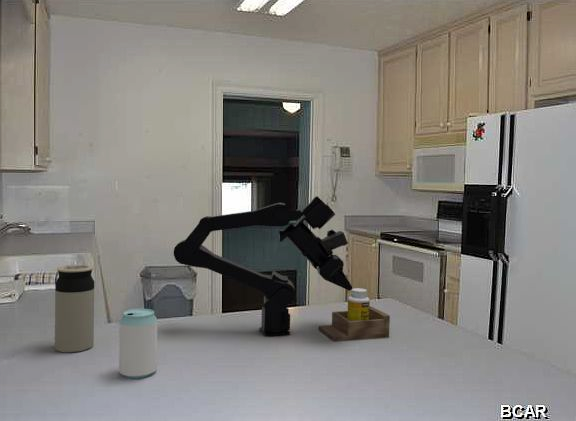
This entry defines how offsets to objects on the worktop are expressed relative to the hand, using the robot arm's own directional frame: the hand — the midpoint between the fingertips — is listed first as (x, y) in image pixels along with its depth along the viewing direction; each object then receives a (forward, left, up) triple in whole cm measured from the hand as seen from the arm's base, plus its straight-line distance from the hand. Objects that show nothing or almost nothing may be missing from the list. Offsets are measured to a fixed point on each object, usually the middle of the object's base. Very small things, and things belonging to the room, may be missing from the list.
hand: (347, 285), depth 127 cm
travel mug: (-65, +4, -12) cm, 66 cm away
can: (-52, -15, -12) cm, 56 cm away
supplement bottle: (+3, -1, -11) cm, 12 cm away
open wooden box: (+2, -1, -12) cm, 12 cm away
